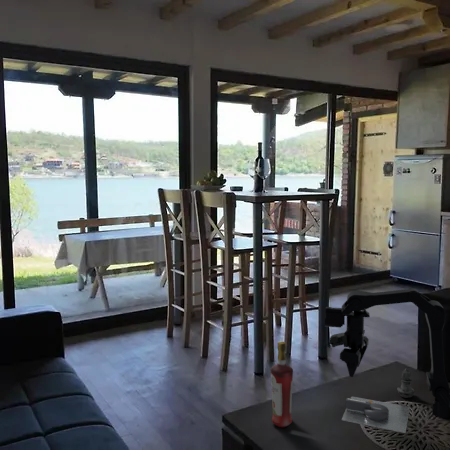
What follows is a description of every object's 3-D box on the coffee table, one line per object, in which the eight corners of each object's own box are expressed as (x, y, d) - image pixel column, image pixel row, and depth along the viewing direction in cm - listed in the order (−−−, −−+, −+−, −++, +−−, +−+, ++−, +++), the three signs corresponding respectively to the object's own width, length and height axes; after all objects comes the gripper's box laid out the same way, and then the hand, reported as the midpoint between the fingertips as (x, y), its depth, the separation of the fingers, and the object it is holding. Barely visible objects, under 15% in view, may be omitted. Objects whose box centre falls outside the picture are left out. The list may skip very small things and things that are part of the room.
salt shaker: (414, 404, 171) (415, 371, 170) (397, 401, 173) (397, 369, 172) (413, 396, 177) (414, 365, 175) (396, 394, 178) (397, 363, 177)
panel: (409, 410, 167) (409, 406, 167) (405, 436, 151) (405, 432, 150) (351, 399, 175) (351, 395, 175) (341, 423, 159) (341, 419, 159)
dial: (389, 411, 164) (390, 400, 163) (387, 422, 157) (387, 411, 156) (348, 403, 170) (348, 393, 169) (343, 414, 162) (343, 403, 162)
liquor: (267, 420, 161) (266, 340, 158) (286, 416, 164) (286, 337, 161) (277, 431, 155) (276, 348, 151) (297, 426, 157) (297, 344, 154)
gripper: (338, 317, 177) (337, 358, 179) (324, 333, 160) (324, 377, 162) (369, 321, 172) (368, 363, 174) (358, 338, 155) (357, 384, 157)
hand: (354, 371), depth 167 cm, fingers open, 9 cm apart
